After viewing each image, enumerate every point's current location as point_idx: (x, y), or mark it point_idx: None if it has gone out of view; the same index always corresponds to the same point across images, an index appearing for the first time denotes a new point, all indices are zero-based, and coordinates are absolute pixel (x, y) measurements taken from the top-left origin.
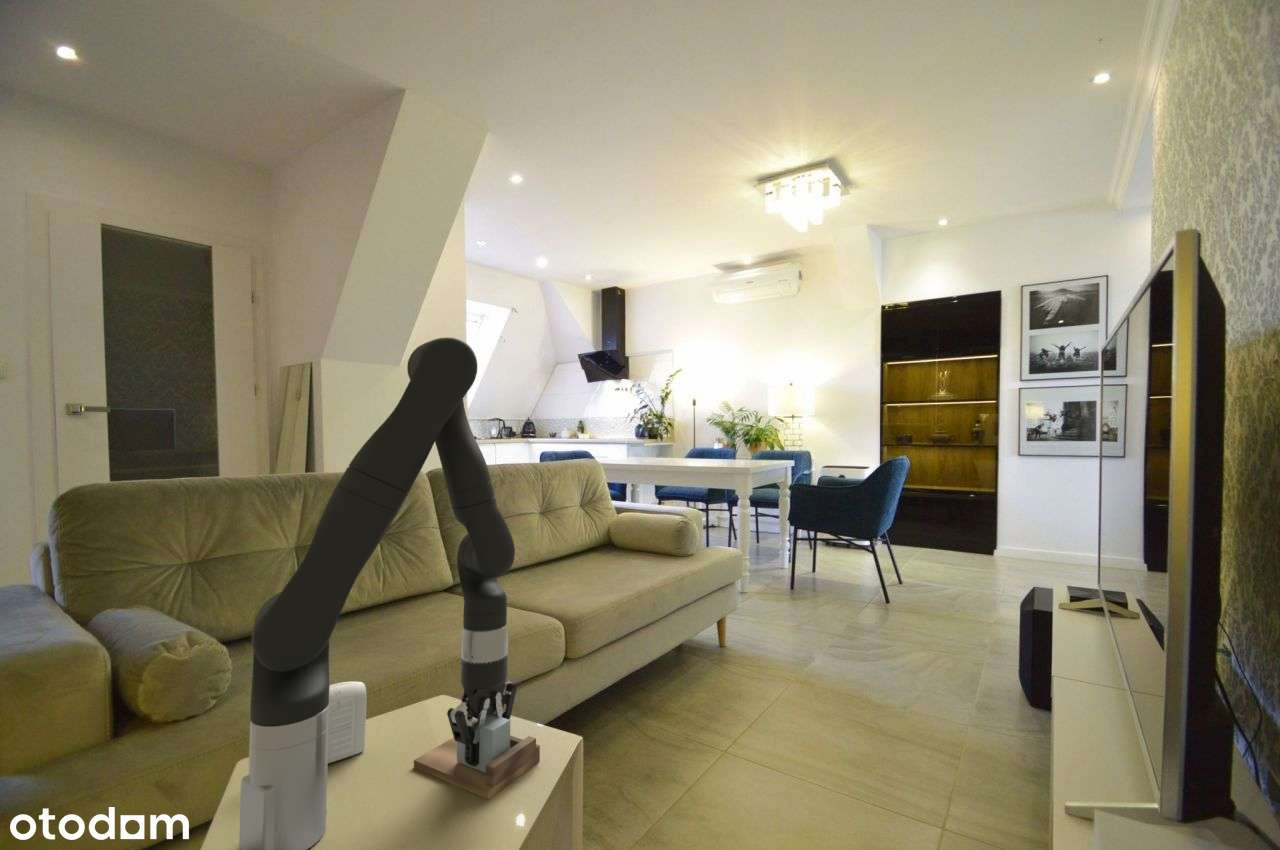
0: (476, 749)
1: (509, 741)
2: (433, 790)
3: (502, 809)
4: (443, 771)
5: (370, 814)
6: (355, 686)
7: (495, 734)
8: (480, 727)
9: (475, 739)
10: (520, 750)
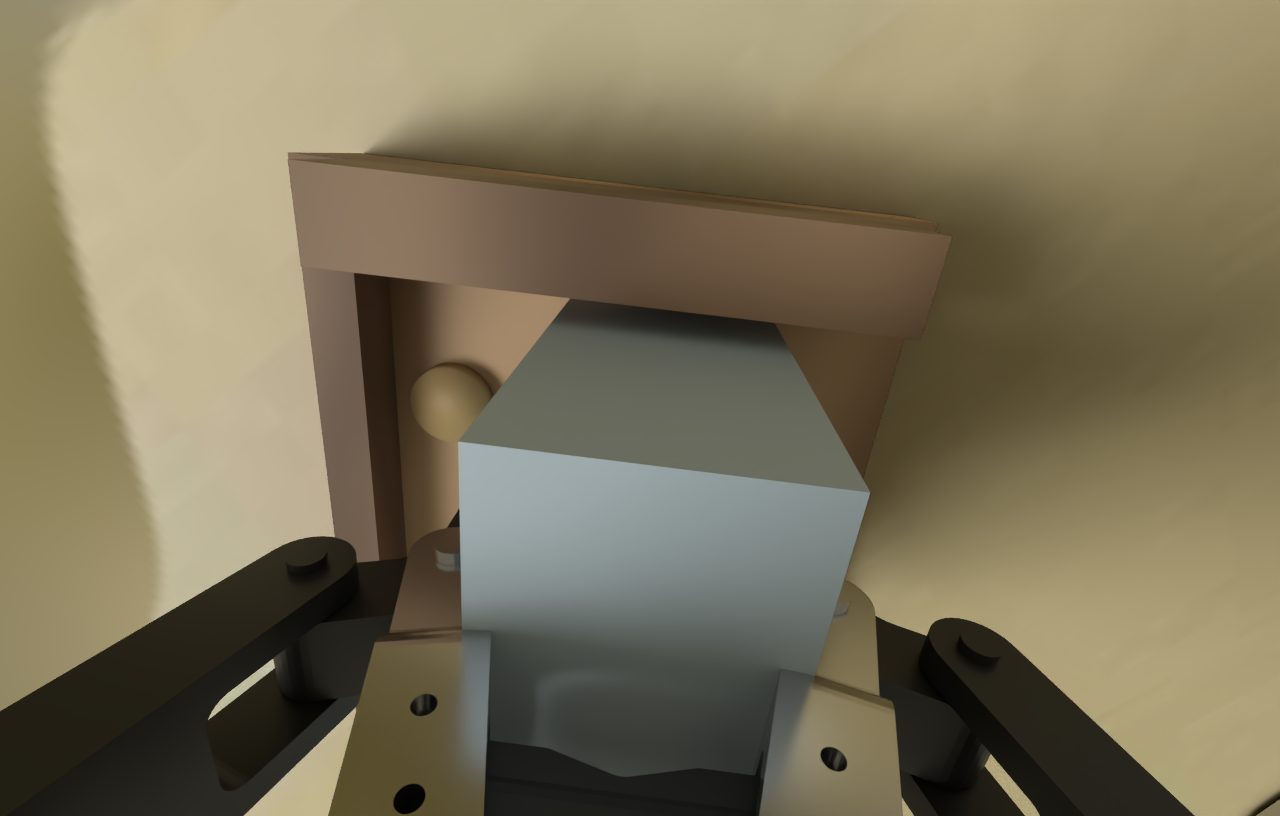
0: None
1: (547, 341)
2: (913, 572)
3: (1001, 29)
4: None
5: (1168, 698)
6: None
7: (791, 444)
8: (836, 682)
9: (850, 609)
10: (545, 187)
